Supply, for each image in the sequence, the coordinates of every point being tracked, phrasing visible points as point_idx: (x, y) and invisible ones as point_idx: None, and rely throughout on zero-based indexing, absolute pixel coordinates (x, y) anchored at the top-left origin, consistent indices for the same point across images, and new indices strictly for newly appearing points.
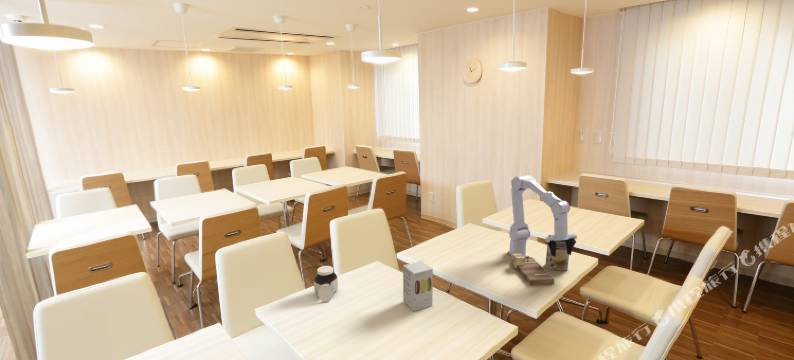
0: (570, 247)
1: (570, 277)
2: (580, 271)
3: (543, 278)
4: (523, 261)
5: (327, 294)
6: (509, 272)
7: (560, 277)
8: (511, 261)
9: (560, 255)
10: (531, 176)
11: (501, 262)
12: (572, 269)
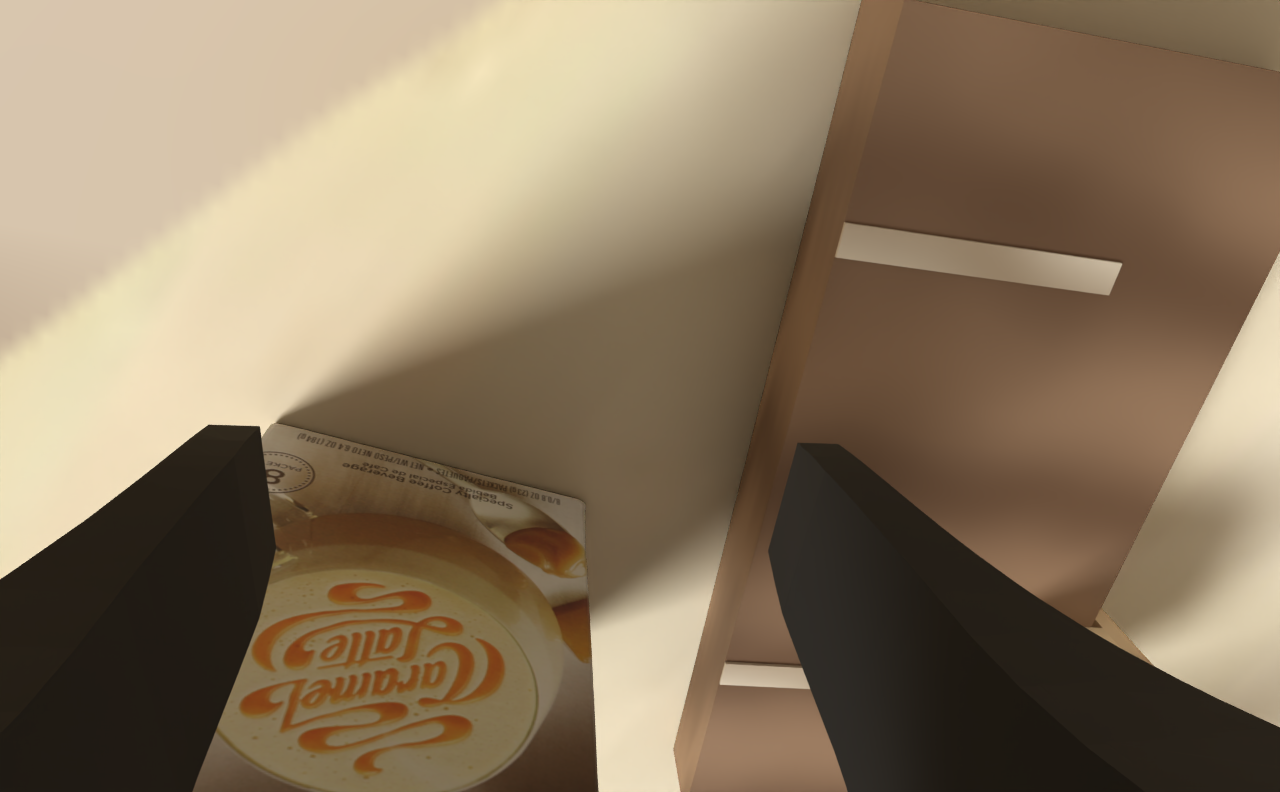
0: (107, 636)
1: (369, 165)
2: (30, 338)
3: (1087, 89)
4: None
5: None
6: (1198, 536)
7: (562, 214)
8: None
9: (369, 655)
10: None
11: None
12: (156, 436)
